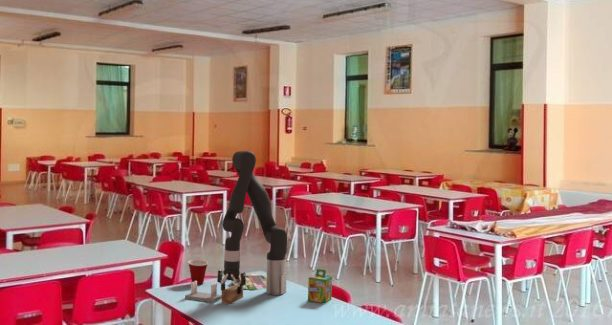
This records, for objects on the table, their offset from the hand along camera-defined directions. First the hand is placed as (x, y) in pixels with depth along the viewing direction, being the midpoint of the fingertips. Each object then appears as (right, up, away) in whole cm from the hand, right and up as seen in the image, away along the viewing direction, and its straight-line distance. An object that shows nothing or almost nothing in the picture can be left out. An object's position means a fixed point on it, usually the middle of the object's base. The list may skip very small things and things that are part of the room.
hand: (231, 292), depth 288 cm
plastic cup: (-21, -2, +29) cm, 36 cm away
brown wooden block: (+1, -4, 0) cm, 4 cm away
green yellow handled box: (+43, -4, +3) cm, 43 cm away
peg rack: (-13, -3, +3) cm, 14 cm away
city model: (+8, -3, +30) cm, 31 cm away
